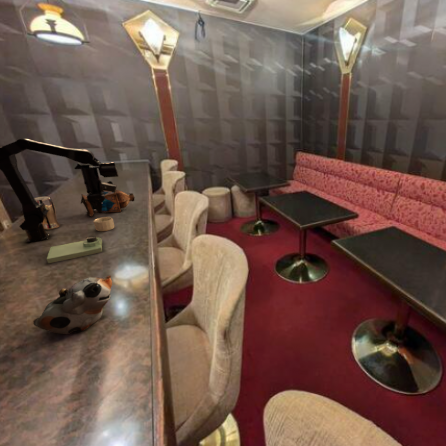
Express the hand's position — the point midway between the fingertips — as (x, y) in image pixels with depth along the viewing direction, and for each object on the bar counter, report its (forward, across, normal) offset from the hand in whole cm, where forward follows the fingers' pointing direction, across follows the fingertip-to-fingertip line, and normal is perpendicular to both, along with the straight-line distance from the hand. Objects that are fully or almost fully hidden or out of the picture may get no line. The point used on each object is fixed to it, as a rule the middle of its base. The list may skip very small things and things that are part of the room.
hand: (100, 210), depth 119 cm
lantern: (+10, +30, -4) cm, 32 cm away
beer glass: (+10, +16, +21) cm, 28 cm away
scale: (+10, -22, +10) cm, 26 cm away
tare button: (+7, -22, +4) cm, 23 cm away
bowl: (+10, 0, 0) cm, 10 cm away
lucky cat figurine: (+10, -70, +7) cm, 71 cm away
